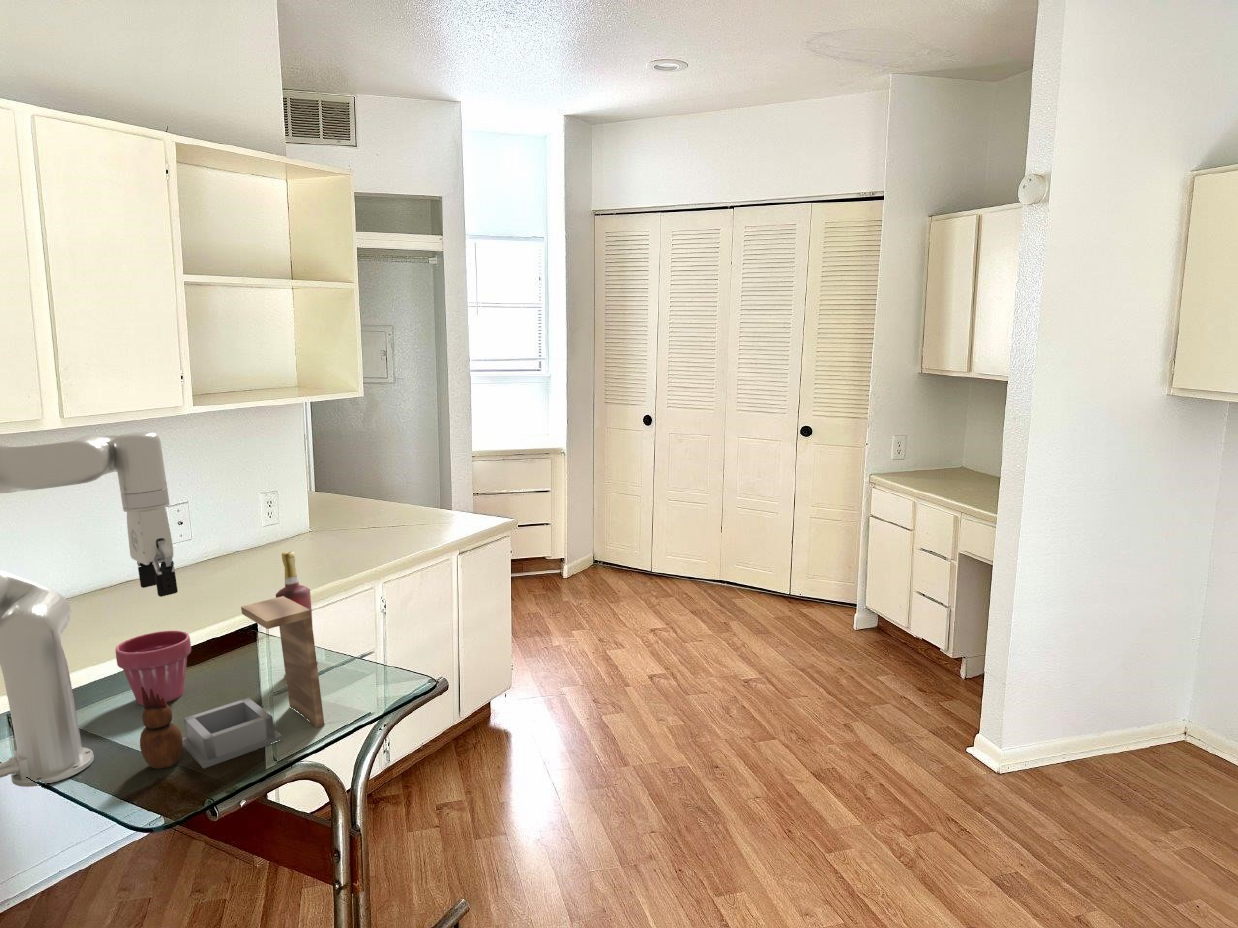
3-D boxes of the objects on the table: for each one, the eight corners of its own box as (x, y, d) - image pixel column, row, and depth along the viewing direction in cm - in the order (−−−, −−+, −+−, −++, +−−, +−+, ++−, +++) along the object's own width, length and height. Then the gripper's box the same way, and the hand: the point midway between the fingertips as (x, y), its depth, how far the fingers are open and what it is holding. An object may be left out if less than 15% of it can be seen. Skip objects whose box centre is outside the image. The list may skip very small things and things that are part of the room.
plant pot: (210, 682, 192) (202, 628, 190) (172, 710, 178) (163, 652, 176) (151, 684, 193) (142, 630, 191) (108, 711, 179) (99, 653, 177)
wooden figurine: (137, 769, 153) (124, 691, 151) (163, 754, 158) (152, 678, 156) (165, 774, 151) (152, 694, 148) (191, 758, 156) (180, 681, 154)
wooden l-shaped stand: (282, 740, 161) (266, 621, 157) (256, 718, 171) (240, 606, 168) (324, 725, 166) (310, 609, 163) (296, 704, 177) (283, 596, 173)
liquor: (324, 664, 199) (310, 548, 194) (312, 676, 191) (297, 556, 187) (293, 666, 199) (278, 549, 195) (280, 678, 192) (264, 558, 187)
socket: (203, 768, 152) (199, 742, 151) (181, 743, 162) (177, 719, 161) (282, 740, 161) (278, 715, 160) (256, 718, 171) (252, 695, 171)
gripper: (108, 499, 159) (122, 587, 161) (138, 508, 147) (152, 603, 149) (152, 492, 164) (165, 577, 167) (184, 500, 152) (197, 592, 155)
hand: (159, 590), depth 158 cm, fingers open, 9 cm apart
